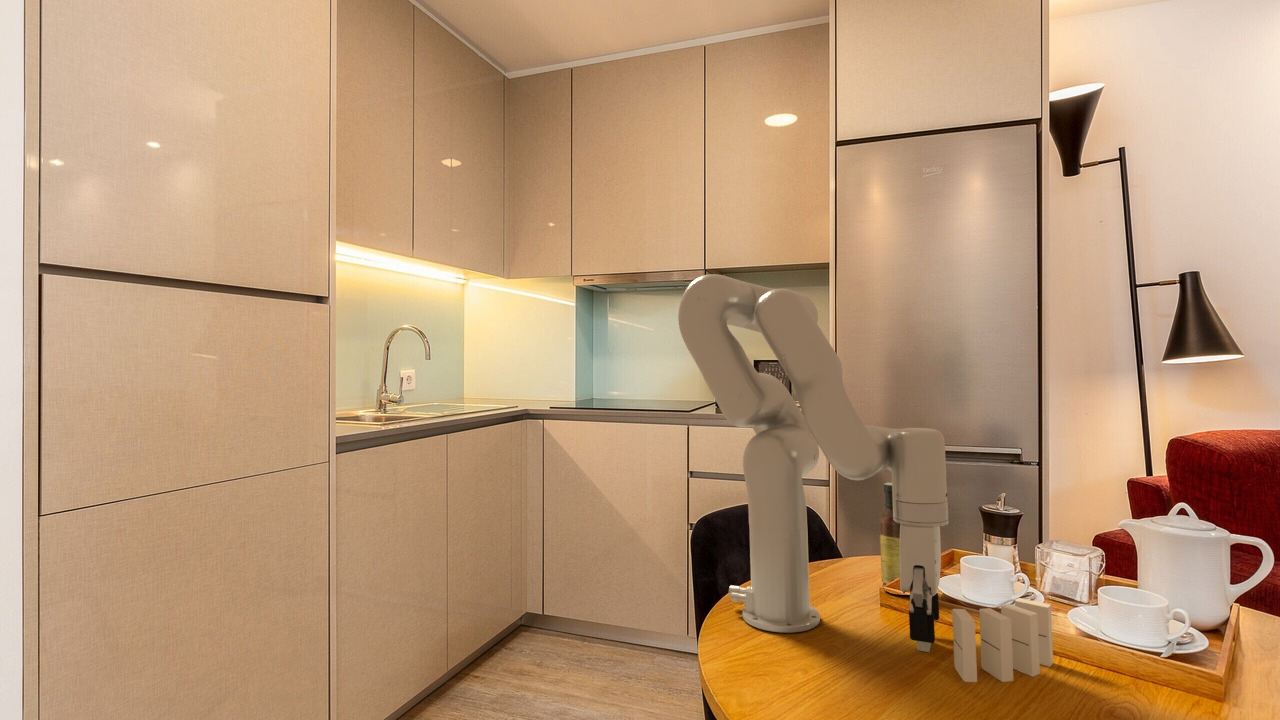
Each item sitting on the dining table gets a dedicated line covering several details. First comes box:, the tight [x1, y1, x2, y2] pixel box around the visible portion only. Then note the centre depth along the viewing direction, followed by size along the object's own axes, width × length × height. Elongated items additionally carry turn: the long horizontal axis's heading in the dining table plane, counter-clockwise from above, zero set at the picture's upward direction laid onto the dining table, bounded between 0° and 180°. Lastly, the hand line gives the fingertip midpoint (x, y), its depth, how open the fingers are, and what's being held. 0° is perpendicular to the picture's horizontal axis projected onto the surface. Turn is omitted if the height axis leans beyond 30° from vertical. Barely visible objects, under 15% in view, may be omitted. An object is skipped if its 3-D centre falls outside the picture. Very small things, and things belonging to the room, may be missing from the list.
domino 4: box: [1014, 597, 1054, 668], centre depth 88 cm, size 2×4×8 cm, turn 45°
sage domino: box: [916, 589, 932, 653], centre depth 93 cm, size 2×4×8 cm, turn 151°
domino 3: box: [1000, 603, 1041, 677], centre depth 85 cm, size 2×4×8 cm, turn 26°
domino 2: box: [978, 607, 1014, 683], centre depth 84 cm, size 2×4×8 cm, turn 8°
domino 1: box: [951, 608, 978, 683], centre depth 84 cm, size 2×4×8 cm, turn 170°
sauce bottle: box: [879, 481, 910, 589], centre depth 116 cm, size 6×6×20 cm
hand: (925, 628), depth 93 cm, fingers open, 8 cm apart
